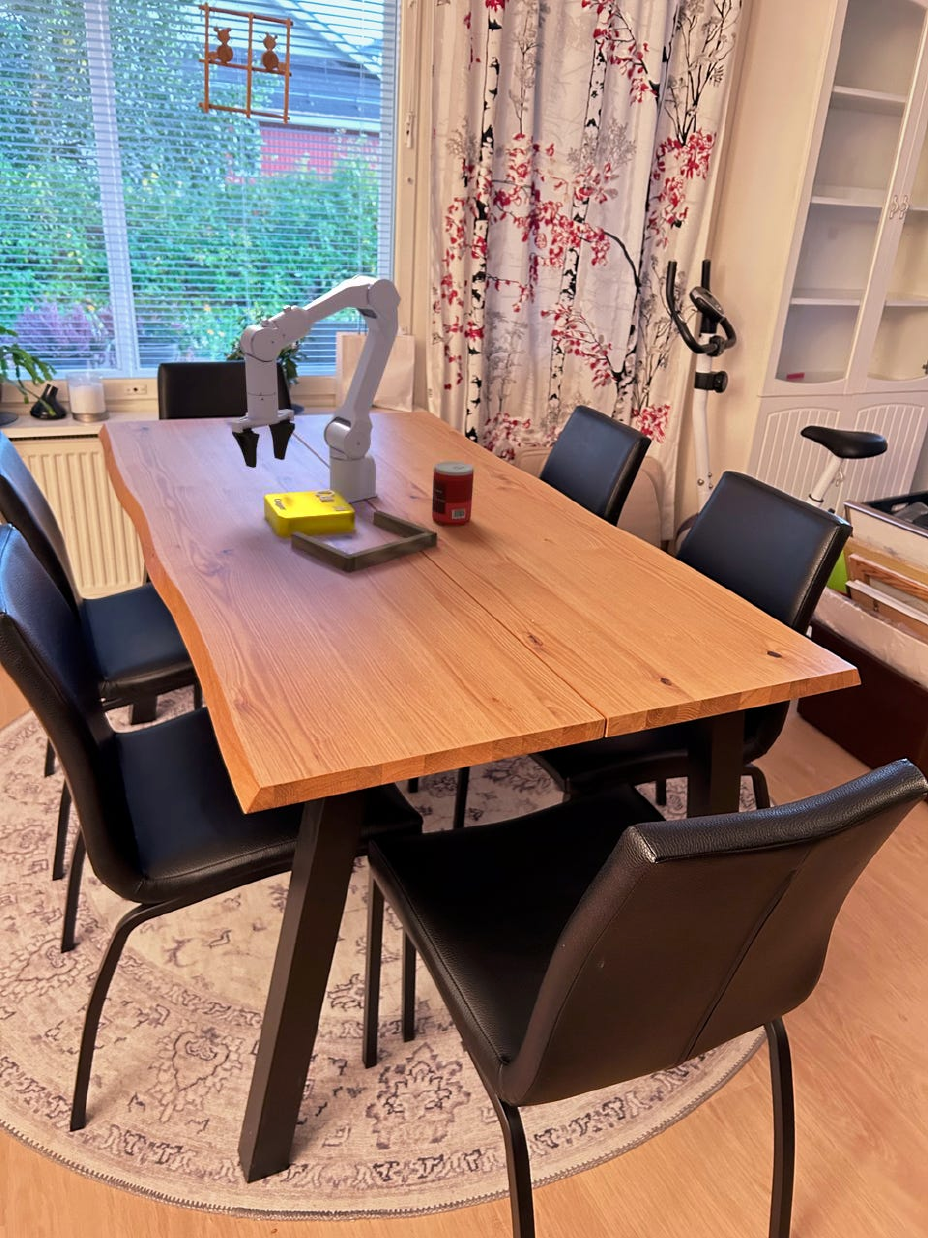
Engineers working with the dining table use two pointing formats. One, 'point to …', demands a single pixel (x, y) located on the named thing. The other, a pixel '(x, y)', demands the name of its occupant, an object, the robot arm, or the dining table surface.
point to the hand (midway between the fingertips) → (265, 462)
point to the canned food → (452, 493)
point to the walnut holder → (412, 543)
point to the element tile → (309, 513)
